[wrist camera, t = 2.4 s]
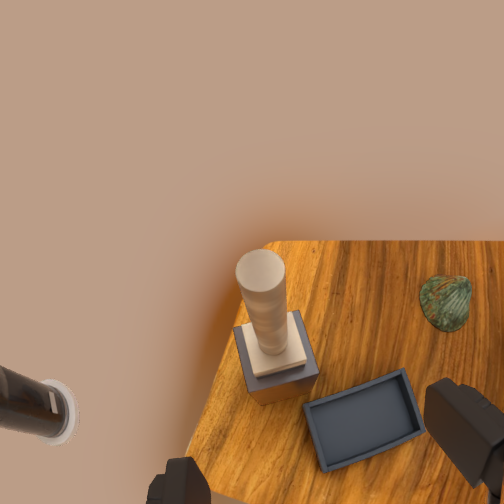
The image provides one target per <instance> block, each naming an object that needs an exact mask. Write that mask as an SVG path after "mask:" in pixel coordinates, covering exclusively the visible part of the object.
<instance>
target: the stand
mask: <svg viewBox="0 0 504 504" xmlns="http://www.w3.org/2000/svg"><path fill="white" fill-rule="evenodd" d="M292 314H293V317H294V320H295V323H296V326H297V329H298V332H299V335H300V339H301V342H302V345H303V348H304V351H305V354H306V357H307V360H306V365H305V366H304V367H301V368H297V369H294V370H291V371H287V372H284V373H280V374H276V375H273V376H269V377H265V378H261V379H256V377H255V375H254V374H253V370H252V366H251V362H250V358H249V354H248V350H247V347H246V343H245V338H244V334H243V330H242V326H238V327H234V328H233V332H234V336H235V340H236V344H237V349H238V353H239V357H240V361H241V365H242V369H243V373H244V377H245V381H246V385H247V389H248V393H249V394H250V395H251V396H252V397H253V398H254V399H255V400H256V401H257V402H258V403H259V404H260V405H261V406H262V405H266V404H270V403H274V402H278V401H281V400H285V399H289V398H292V397H296V396H299V395H303V394H306V393H309V392H311V390H312V388H313V386H314V384H315V382H316V380H317V378H318V375H319V373H320V372H319V369H318V366H317V363H316V360H315V357H314V354H313V351H312V348H311V345H310V342H309V338H308V335H307V332H306V329H305V326H304V323H303V320H302V317H301V314H300V311H299V310H296V311H293V312H292Z"/></svg>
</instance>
